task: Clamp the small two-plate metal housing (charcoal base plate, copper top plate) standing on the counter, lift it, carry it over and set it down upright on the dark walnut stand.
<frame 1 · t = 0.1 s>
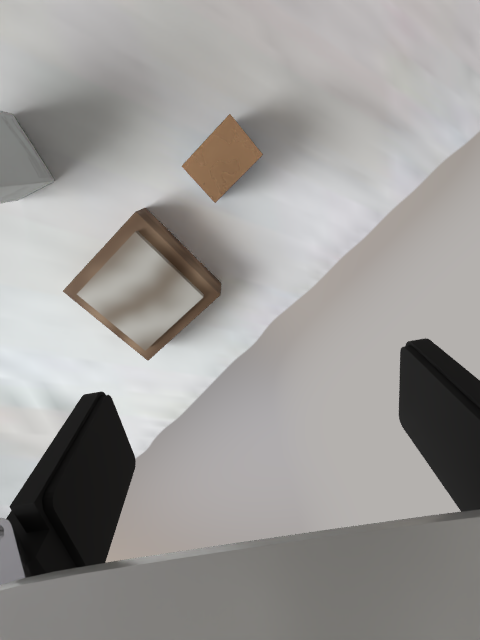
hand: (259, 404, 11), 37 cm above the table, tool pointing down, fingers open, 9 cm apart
housing: (222, 162, 42), on the table
walnut stand: (150, 281, 47), on the table
skincare box: (19, 160, 41), on the table
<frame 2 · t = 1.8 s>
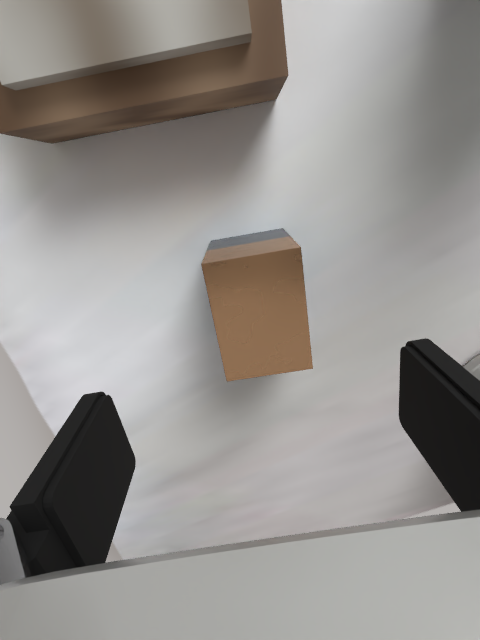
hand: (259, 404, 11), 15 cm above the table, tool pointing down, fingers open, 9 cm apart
housing: (254, 282, 24), on the table
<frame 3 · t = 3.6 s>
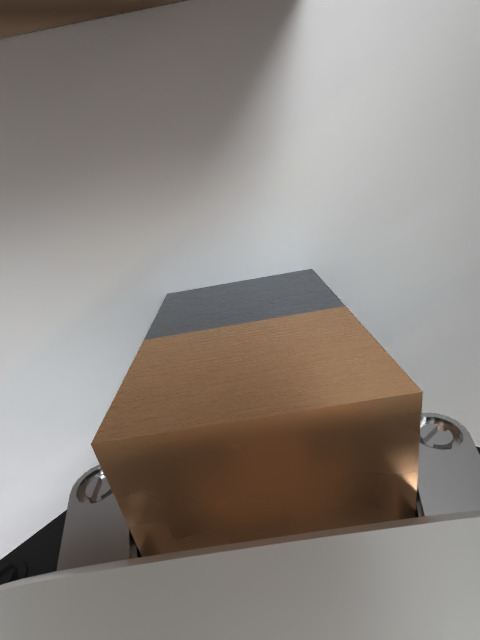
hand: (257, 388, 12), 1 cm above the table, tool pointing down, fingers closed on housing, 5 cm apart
housing: (254, 368, 13), on the table, touching gripper
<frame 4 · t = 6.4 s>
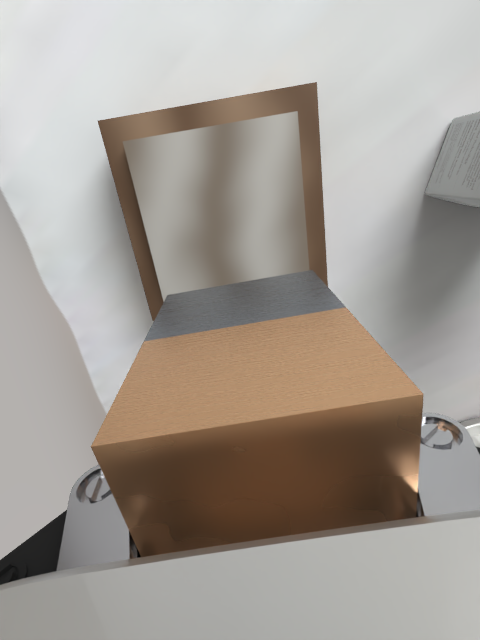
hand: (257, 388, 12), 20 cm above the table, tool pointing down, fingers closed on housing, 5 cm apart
housing: (254, 369, 13), point 19 cm above the table, touching gripper
walnut stand: (225, 210, 28), on the table
skincare box: (476, 169, 28), on the table
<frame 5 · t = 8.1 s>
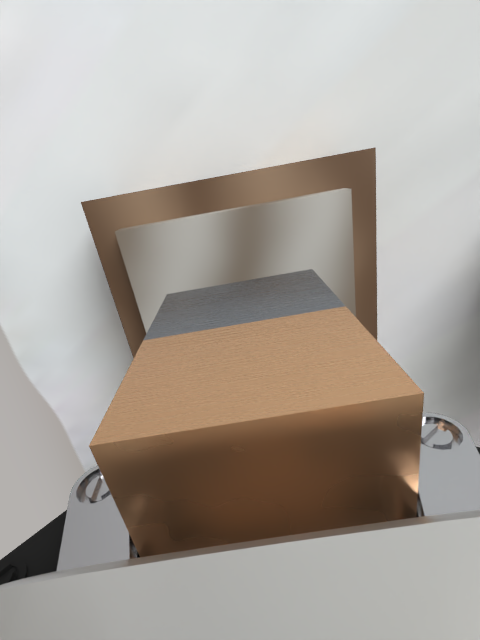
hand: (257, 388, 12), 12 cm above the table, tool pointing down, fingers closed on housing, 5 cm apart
housing: (254, 368, 13), point 11 cm above the table, touching gripper
walnut stand: (245, 285, 23), on the table
when the fingers open (9 cm above the table, at t = 9.6 s): housing drops 1 cm, resting on walnut stand.
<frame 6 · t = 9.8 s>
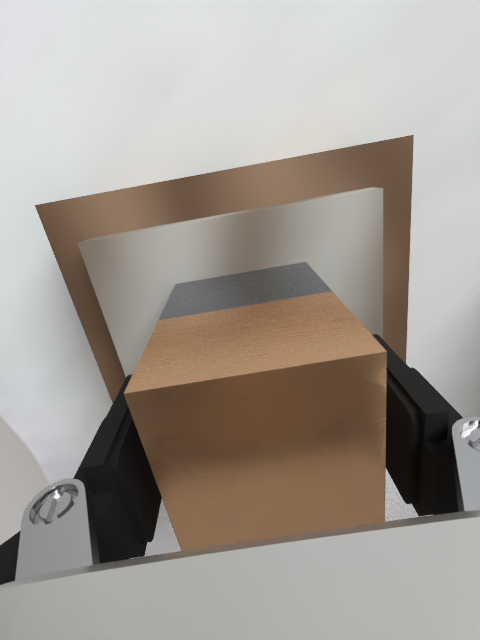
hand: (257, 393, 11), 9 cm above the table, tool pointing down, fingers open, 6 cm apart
housing: (253, 352, 14), point 6 cm above the table, touching walnut stand
walnut stand: (244, 301, 20), on the table
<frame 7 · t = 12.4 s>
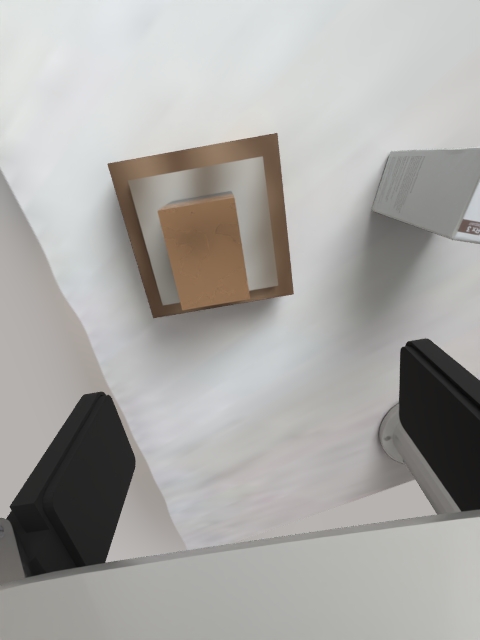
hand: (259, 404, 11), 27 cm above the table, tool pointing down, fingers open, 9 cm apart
housing: (209, 238, 29), point 6 cm above the table, touching walnut stand
walnut stand: (210, 226, 35), on the table
skincare box: (412, 190, 34), on the table
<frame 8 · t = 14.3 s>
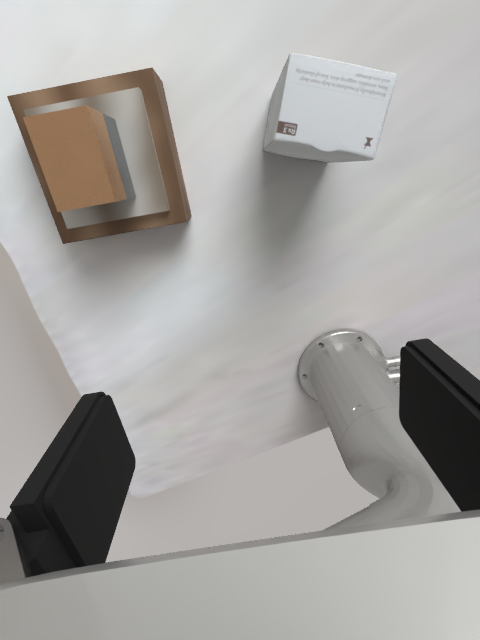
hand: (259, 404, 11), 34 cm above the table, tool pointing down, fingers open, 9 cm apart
housing: (101, 164, 33), point 6 cm above the table, touching walnut stand
walnut stand: (118, 164, 39), on the table
skincare box: (298, 131, 38), on the table
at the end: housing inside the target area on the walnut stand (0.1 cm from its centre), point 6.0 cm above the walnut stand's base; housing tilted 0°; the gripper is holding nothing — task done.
